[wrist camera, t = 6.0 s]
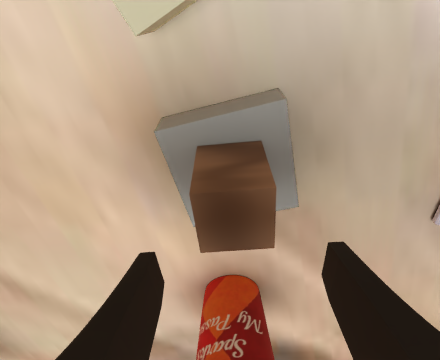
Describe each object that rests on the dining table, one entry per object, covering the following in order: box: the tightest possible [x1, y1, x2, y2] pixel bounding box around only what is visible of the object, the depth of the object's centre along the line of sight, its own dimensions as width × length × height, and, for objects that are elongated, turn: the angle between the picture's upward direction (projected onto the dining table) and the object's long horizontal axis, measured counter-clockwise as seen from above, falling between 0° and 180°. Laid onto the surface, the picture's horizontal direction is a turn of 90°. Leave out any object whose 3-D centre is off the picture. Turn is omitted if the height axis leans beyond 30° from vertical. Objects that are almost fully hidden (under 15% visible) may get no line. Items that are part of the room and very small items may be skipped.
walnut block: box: [189, 141, 277, 253], centre depth 15 cm, size 4×4×5 cm
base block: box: [154, 88, 299, 227], centre depth 18 cm, size 8×8×3 cm
